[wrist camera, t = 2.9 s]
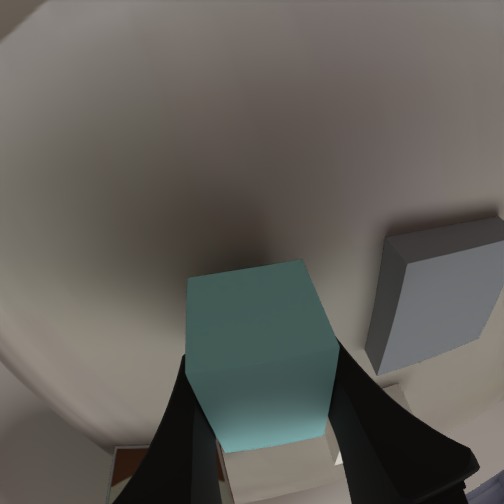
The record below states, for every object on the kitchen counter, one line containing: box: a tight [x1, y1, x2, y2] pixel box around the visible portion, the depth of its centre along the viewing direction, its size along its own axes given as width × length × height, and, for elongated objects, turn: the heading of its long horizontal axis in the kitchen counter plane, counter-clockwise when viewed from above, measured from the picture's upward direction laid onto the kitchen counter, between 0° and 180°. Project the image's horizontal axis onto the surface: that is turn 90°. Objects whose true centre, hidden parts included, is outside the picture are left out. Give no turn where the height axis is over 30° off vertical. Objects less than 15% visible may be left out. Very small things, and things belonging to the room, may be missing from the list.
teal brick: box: [185, 259, 340, 453], centre depth 11 cm, size 4×6×4 cm, turn 6°
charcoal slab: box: [365, 216, 504, 376], centre depth 15 cm, size 8×8×2 cm
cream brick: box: [325, 383, 413, 465], centre depth 21 cm, size 6×4×4 cm, turn 97°
